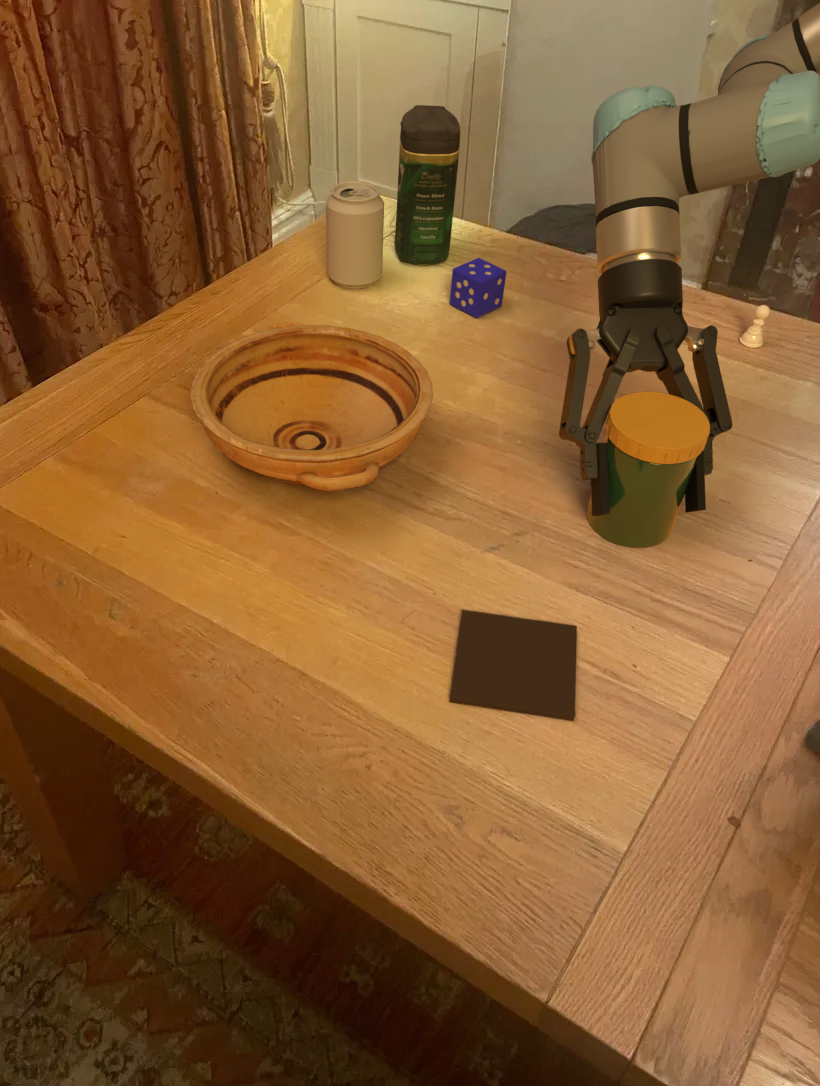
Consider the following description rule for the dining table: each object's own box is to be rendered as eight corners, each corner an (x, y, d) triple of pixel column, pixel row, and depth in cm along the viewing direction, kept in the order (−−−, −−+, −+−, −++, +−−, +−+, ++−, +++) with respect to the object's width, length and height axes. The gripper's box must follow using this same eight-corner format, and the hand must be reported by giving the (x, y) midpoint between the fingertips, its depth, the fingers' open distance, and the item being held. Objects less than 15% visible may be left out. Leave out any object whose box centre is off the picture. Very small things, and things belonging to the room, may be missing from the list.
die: (474, 292, 122) (478, 256, 118) (502, 306, 119) (507, 270, 116) (448, 304, 119) (452, 268, 116) (476, 319, 117) (480, 282, 113)
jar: (669, 498, 92) (702, 402, 84) (674, 553, 86) (710, 456, 78) (586, 487, 93) (610, 391, 85) (586, 541, 87) (611, 444, 79)
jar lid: (701, 412, 85) (706, 397, 84) (709, 470, 79) (715, 454, 78) (605, 401, 86) (608, 386, 85) (605, 457, 80) (609, 441, 79)
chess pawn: (734, 339, 115) (747, 302, 111) (751, 335, 116) (764, 298, 112) (749, 350, 113) (763, 313, 109) (767, 345, 114) (781, 309, 110)
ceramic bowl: (183, 388, 104) (173, 324, 98) (386, 363, 109) (388, 301, 103) (221, 560, 84) (212, 493, 79) (467, 520, 89) (476, 454, 83)
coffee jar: (452, 268, 127) (465, 125, 113) (396, 267, 126) (402, 124, 113) (446, 237, 133) (458, 99, 120) (393, 237, 133) (398, 98, 120)
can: (336, 262, 127) (336, 173, 118) (388, 270, 126) (391, 181, 117) (319, 286, 122) (317, 196, 113) (372, 295, 121) (375, 204, 112)
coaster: (575, 630, 79) (577, 625, 79) (573, 721, 72) (575, 716, 72) (461, 614, 80) (462, 609, 80) (449, 702, 73) (449, 697, 73)
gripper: (729, 280, 89) (738, 511, 89) (517, 285, 87) (526, 520, 88) (769, 252, 81) (778, 505, 82) (537, 256, 80) (548, 514, 80)
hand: (648, 512), depth 85 cm, fingers closed on jar, 8 cm apart
